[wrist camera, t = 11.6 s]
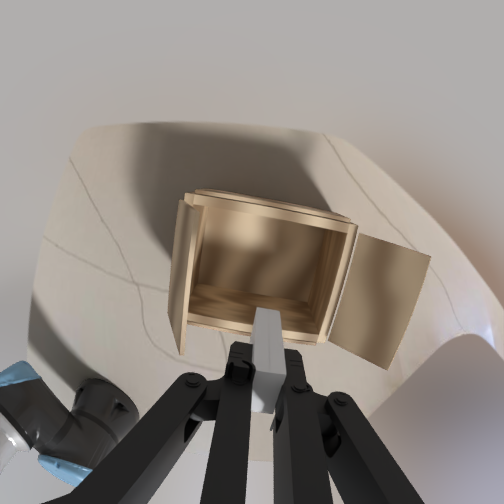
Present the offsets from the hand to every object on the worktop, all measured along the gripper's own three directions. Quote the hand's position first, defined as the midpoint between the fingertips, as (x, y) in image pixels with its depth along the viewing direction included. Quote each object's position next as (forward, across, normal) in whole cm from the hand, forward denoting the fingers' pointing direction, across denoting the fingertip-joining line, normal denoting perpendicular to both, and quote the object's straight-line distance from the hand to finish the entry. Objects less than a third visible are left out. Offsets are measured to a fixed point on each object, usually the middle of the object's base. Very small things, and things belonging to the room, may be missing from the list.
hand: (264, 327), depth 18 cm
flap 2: (+8, +12, 0) cm, 14 cm away
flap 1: (+7, -8, 0) cm, 11 cm away
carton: (+21, 0, 0) cm, 21 cm away
